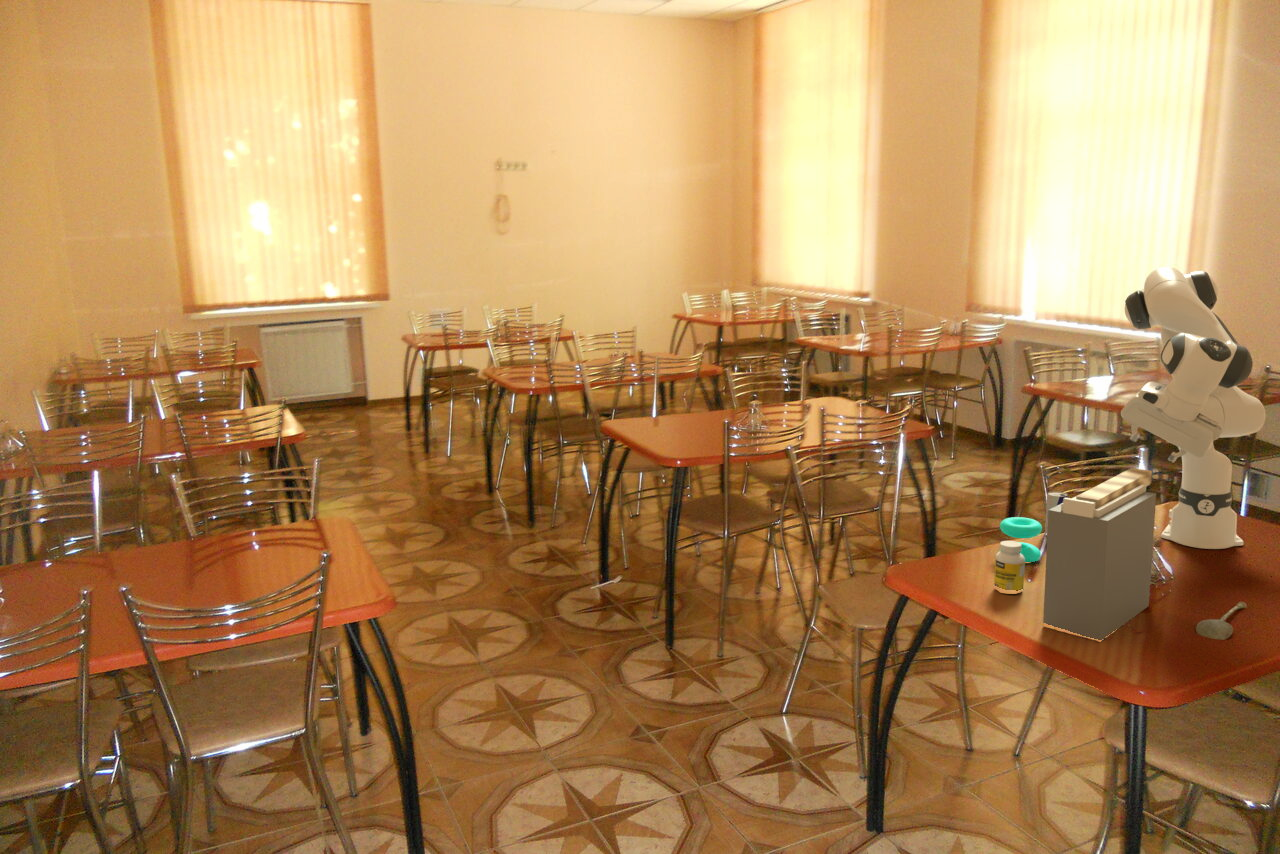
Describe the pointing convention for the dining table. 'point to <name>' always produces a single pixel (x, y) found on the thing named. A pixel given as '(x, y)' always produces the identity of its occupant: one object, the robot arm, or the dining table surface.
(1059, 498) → the energy drink
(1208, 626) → the soupspoon
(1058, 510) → the gray open box
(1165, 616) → the dining table surface
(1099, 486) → the wooden bar
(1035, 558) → the donuts
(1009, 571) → the pill bottle
